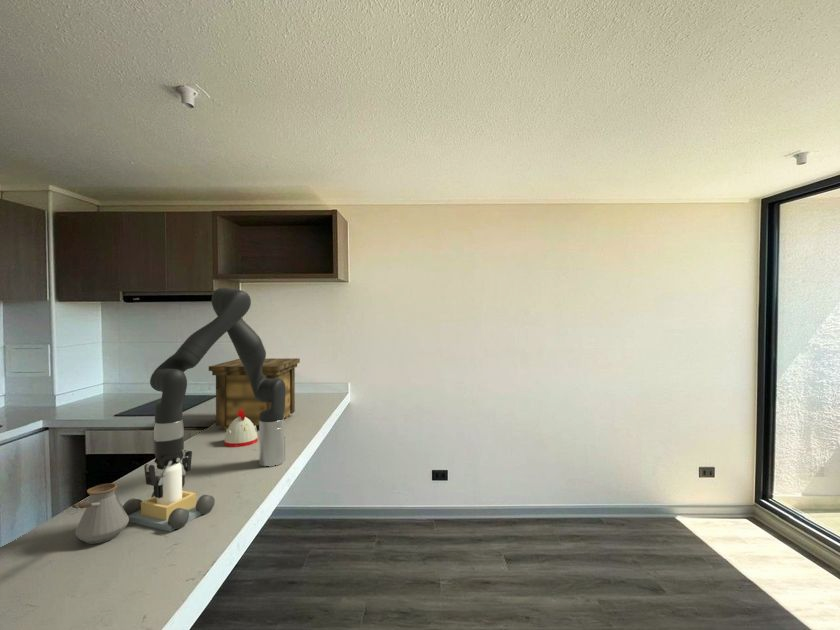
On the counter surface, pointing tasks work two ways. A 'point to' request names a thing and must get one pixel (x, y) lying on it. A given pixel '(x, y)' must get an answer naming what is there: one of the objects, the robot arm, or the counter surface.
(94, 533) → the coffee pot
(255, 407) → the crate
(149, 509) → the chassis
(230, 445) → the kitchen timer
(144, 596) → the counter surface
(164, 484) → the can
